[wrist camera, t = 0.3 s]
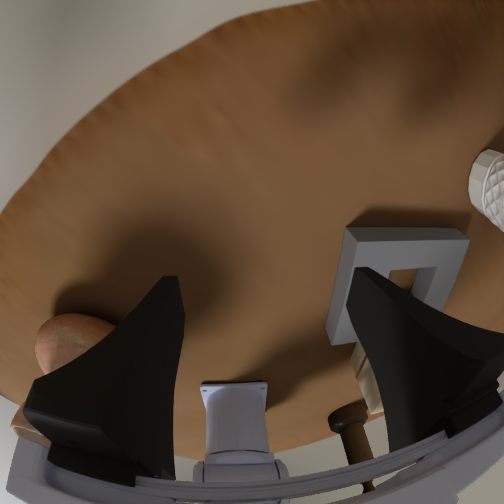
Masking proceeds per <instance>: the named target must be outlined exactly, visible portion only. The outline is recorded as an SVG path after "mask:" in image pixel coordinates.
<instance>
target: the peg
mask: <svg viewBox="0 0 504 504" xmlns="http://www.w3.org/2000/svg"><path fill="white" fill-rule="evenodd" d="M350 362H351V365H352V367H353V370H354V372H355V375H356V379H357V380H358V382H359V385H360V388H361V390H362V393H363V396H364V398H365V401H366V404H367V406H368V409H369V412H370V414H375V413H379V412H382V411H384V409H383V405H382V401H381V397H380V393H379V389H378V385H377V382H376V379H375V375H374V372H373V370H372V367H371V365H370V362H369V360H368V358H367V356H366V354H365V352H364V350H363V347H362V345H361V343H360V342H357V343H356V346H355V348H354V351H353V353H352V356H351V358H350Z"/></svg>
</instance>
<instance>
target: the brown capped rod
mask: <svg viewBox="0 0 504 504" xmlns="http://www.w3.org/2000/svg"><path fill="white" fill-rule="evenodd" d="M367 419H368V415H367V412H366V409H365V407H364V405H362V404H352V405H348V406H345V407H342V408H340V409H338V410H336V411H334V412H333V413H331V414H330V416H329V417H328V422H329V426H330V429H331V431H333V432H336V433H338V434H340V436H341V439H342V442H343V445H344V449H345V452H346V456H347V460H348V463H349V465H353V464H357V463H360V462H364V461H367V460H370V459H374V457H373V454H372V451H371V448H370V445H369V442H368V439H367V436H366V433H365V430H364V427H363V425H364V424H365V422H366V420H367ZM372 481H373V479H372V480H369V481H366V482H363V483H360V484H362V485H363V487H364V490H363V493H362V494H364V493H367V492H370V491H373V490H376V489H375V487H374V486H373V484H372Z"/></svg>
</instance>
